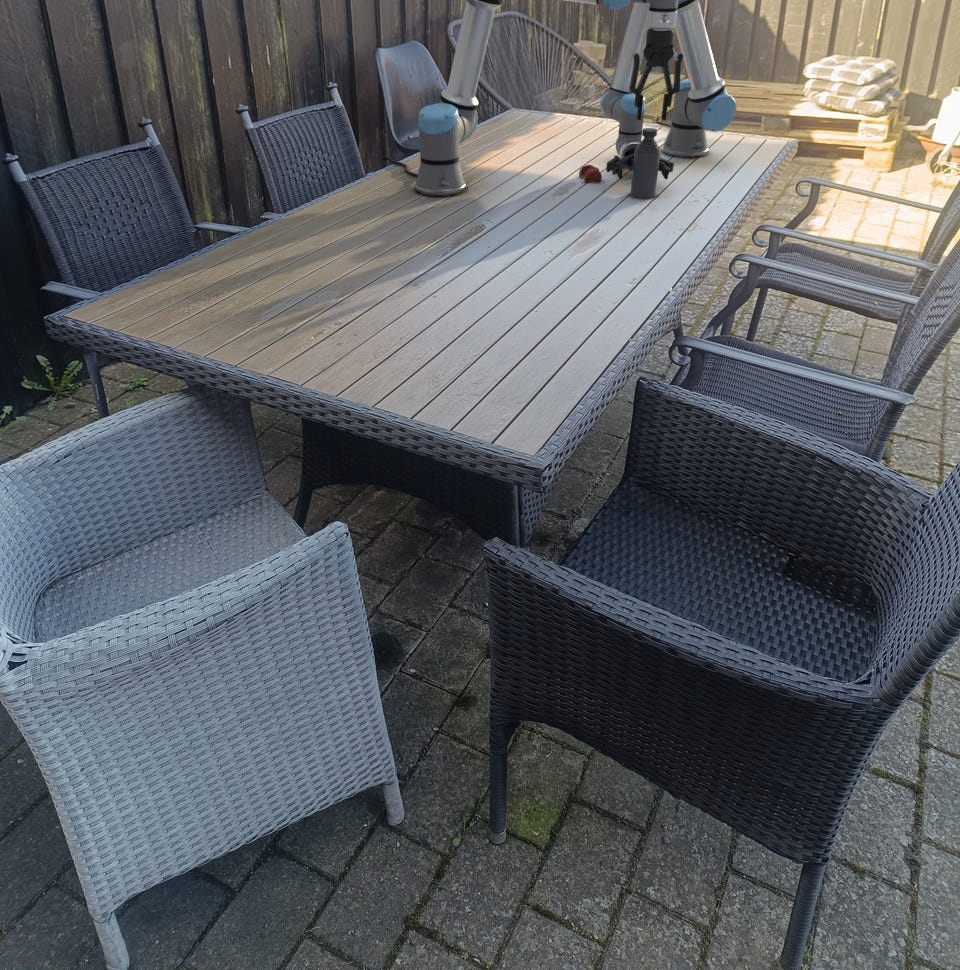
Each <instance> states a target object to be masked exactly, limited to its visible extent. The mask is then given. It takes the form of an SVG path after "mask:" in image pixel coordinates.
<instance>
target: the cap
mask: <svg viewBox="0 0 960 970" xmlns="http://www.w3.org/2000/svg"><path fill="white" fill-rule="evenodd" d="M644 136H645V137H654V138H655V137H657V136H658V129H656V128H655V127H654V128H652V127H646V128H642V137H644Z"/></svg>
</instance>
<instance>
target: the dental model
mask: <svg viewBox="0 0 960 970" xmlns="http://www.w3.org/2000/svg"><path fill="white" fill-rule="evenodd" d="M578 177H579V178H583V177H584V178H583V181H584V182H587V183H588V182H598V181H602V180H603V179H602V178H603V176H602V173H601V171H600V169H599V167H595V166H594V165H593V164H584V165H582V166H581V167H580V169H579V172H578Z"/></svg>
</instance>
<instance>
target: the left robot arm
mask: <svg viewBox="0 0 960 970" xmlns="http://www.w3.org/2000/svg"><path fill="white" fill-rule="evenodd" d="M563 1H566V2H571V3H572V2H573V3H581V4H588V5H589V4H590V5H596V6H602V7H608V8H609V9H611V10H622V9H624V8H626V7H627V6H629V4H631V3H632V4H634V3H650V7H649V16H648V25H647V26H648V27H649V29H648V30H647V35H646V45H645V48H644V50H643V52H639V53H634V54H633V58H634V65H633V71H632V76H631V82H630V88H629V90H630V91H631V92H632V94H635V103H634V105H635V107H638V109H637V119H638V120H641V114H642V104H643V96H644V95H643V94H642V93H643V90H644V87H645V86H646V83H647V80H648V78H649V75H650V73H651V72H652V69H653V68H656V67H659V68H661V69H662V73H663V77H664V78H663V79H664V83H665V89H666V93H663V100H662V108H661V110H662V111H661V120H662V121H666V120H667V113H668V108H671V107H672V102H673V96H674V95H675V93H678V92H679V91H680V81H681V73H682V72H681V69H682V61H683V54H682V53H681V51H680V52H677V51H675V49H674V42H675V35H676V31H675V28H674V27H675V26H676V17H677V9H678V1H679V0H563ZM503 3H504V0H465V5H464V11H463V15H462V19H461V24H460V28H459V33H458V37H457V38H458V39H457V41H456V46H455V52H454V56H453V60H452V65H451V69H450V75H449V79H448V83H447V88H445V89H443V90H441V93H440V98H439V102H438V103H432V104H429V105H425V106H424V107H422V108H421V109H420V111H419V113H418V122H417V124H418V136H419V138H418V139H419V157H420V158H419V159H420V161H419V162H420V164H419V168H418V172H417V173H414V172H412V171H410V170H409V167H408V164H405V163H403V162H401V161H397V160H394V159H393V158H391V157H390V156H388V155H384V156H383V157H382V159H381V161H386V160H387V161H389V163H391V164H394V165H396V166H400V167H403V168H404V173H405V174H407V175H409V176H412V177H414V178H416V180H415V183H414V184H415V185H414V186H415V192H417V193H418V194H420V195H424V196H430V197H450V196H455V195H459V194H461V193H463V192H464V191H466V181H465V179H464V176H463V172H462V169H461V165H460V144H462V143H463V142H464V141H466V140H468V139H469V138H470V137H471V136H472V135H473V134H474V132H475V130H476V129H477V126H478V120H479V119H478V118H479V117H478V116H479V115H478V112H477V110H478V106H479V100H478V99H477V96H476V93H477V89H478V84H479V81H480V77H481V73H482V69H483V63H484V60H485V55H486V52H487V47H488V43H489V39H490V35H491V31H492V26H493V22H494V17H495V13H496V10H498V9H499V8H500V7H501V6H503ZM642 57H643V58H644V59H645V60H646V63H645V66H644V68H643V71H642V74H641V76H640V79H639V81H638V77H639V71H640V67H641V64H640V61H641V60H642V61H643V58H642ZM672 58H673V60H674V70H673V71H674V72H673V85H672V79H671V74H670V67H669V61H670V60H671V59H672ZM642 61H641V62H642ZM639 66H640V67H639ZM637 82H638V84H637Z"/></svg>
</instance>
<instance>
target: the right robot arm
mask: <svg viewBox="0 0 960 970" xmlns="http://www.w3.org/2000/svg"><path fill="white" fill-rule="evenodd" d="M649 7H650V3H633V5H632V9H631V12H630V16H629V19H628V21H627V22H628V23H627V26H626V30H625V33H624V36H623V39H622V44H621V47H620V50H619V53H618V57H617V58H618V59H617V61H616V65H615V67H614V71H613V75H612V78H611V81H610V85H609V89H608V91H607V92H605V93H604V94H603V96H601V99H600V102H599V108H600V111H601V112H602V113H603V114H604V115H605V116H606V117H607V118H609V119H611V120H614V121H615V122H618V134H617V138H616V140H615V150H616V153H617V154H616V155H614V156H613V158H612V159H610V160H609V161H608V162H606V170H605V171H606V172H607V173H610V172H611V175H612V176H617V177H618V180H622V179H623V172H624V170H629V171H632V172H633V163H634V153H635V149H636V147H637V146H638V144H640V142H642V140H643V138H642V137H643V136H642V131H643V129H644V119H645V112H646V97H645V96H644V95H643V104H642V114H641V120H638V119H637V109H638V107H635V105H634V103H635V94H634V93H632V92H631V91H630V90H629V88H630V82H631V76H632V71H633V65H634V58H633V54H634V53H639V52H643V50H644V48H645V45H646V35H647V30H648V29H649V27H648V26H647V25H648V16H649ZM704 21H705V20H704V17H703V13H702V9H701V4H700V0H679V1H678V9H677V17H676V26H675V27H674V28H673V29H674V31H675V35H676V39H677V43H678V46H679V49H680V53H682V54H683V59H682V61H683V63H684V67H685V70H686V74H687V78H688V79H687V80H686V79H685V80H680V91H679V92H678V93H674V99H673V107H672V117H671V124H668V123H663V122H660V121H659V120H660V116H659V115H658V116H657V117H656V119H655V122H656V124H657V125H659V126H663V127H668V128H670V129H669V131H668V134H667V135H666V138H665V140H664V142H663V146H662V152H663V153H665V154H666V155H669V156H673V157H679V158H701V157H705V156H706V155H707V154H708V150H709V146H708V138H707V133H706V131H707V132H713V133H718V132H721V131H724V129H726V128H727V127H729V126H730V124H731V123H732V122H733V119H734V118H735V116H736V112H737V102H736V100H735V98H734V97H733V96H732V95H731V94H729V93H728V90H727V86H726V82H725V80H724V78H722V77H720V76H719V75H718V72H717V68H716V63H715V60H714V55H713V52H712V48H711V44H710V41H709V35H708V33H707V29H706V25H705V22H704ZM643 58H644V56H643V57H642V60H641V61H640V66H639V68H641V63H642V61H643ZM674 164H675V163H674V162H672V161H670V160H668V159H665V158H663V157H660V160H659V168H658V172H660V173H661V175H662V177H663V178H664V180H668V179H669V174H670V173H673V172H674Z"/></svg>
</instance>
